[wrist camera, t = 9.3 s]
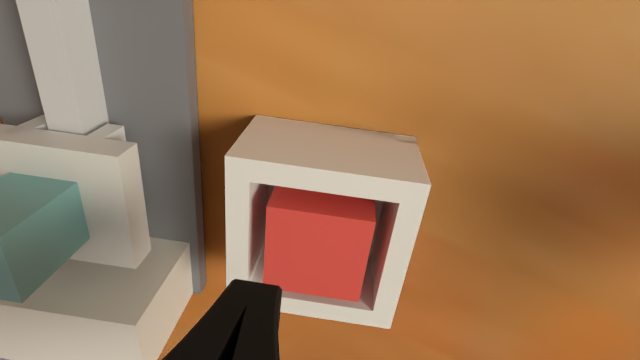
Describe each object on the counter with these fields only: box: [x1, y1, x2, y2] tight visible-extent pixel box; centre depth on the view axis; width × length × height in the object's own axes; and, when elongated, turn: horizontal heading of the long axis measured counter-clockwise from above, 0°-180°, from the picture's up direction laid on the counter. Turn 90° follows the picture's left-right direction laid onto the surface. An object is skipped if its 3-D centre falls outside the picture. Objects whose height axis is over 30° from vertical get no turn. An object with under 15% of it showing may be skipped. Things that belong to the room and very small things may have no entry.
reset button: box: [263, 186, 376, 302], centre depth 18 cm, size 4×4×4 cm
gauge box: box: [225, 115, 431, 329], centre depth 19 cm, size 8×8×5 cm
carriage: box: [0, 115, 151, 303], centre depth 16 cm, size 6×7×7 cm
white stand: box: [0, 0, 206, 360], centre depth 16 cm, size 24×10×7 cm, turn 174°
